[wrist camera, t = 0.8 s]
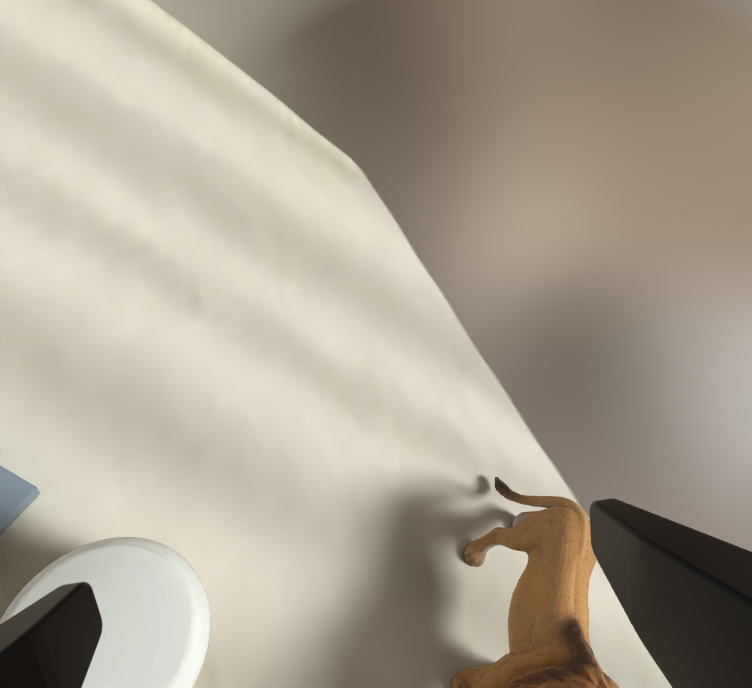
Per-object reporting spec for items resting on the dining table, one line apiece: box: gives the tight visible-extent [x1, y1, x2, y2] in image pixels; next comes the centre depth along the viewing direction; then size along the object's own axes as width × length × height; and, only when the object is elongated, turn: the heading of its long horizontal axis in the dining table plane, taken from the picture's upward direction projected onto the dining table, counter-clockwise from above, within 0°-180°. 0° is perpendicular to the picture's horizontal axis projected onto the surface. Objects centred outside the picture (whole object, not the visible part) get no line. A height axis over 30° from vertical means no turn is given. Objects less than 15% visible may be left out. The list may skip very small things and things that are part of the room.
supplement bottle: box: [0, 537, 210, 688], centre depth 14 cm, size 5×5×10 cm
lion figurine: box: [451, 477, 619, 688], centre depth 21 cm, size 15×5×9 cm, turn 172°
